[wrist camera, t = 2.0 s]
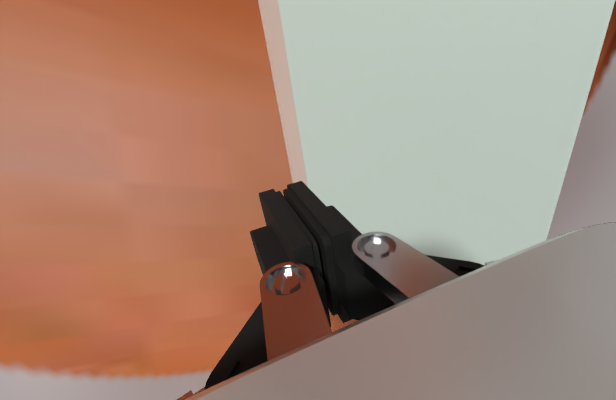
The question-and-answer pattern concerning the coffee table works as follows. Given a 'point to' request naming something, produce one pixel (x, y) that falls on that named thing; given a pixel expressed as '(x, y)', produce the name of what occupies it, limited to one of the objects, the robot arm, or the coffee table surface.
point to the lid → (442, 113)
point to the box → (283, 87)
